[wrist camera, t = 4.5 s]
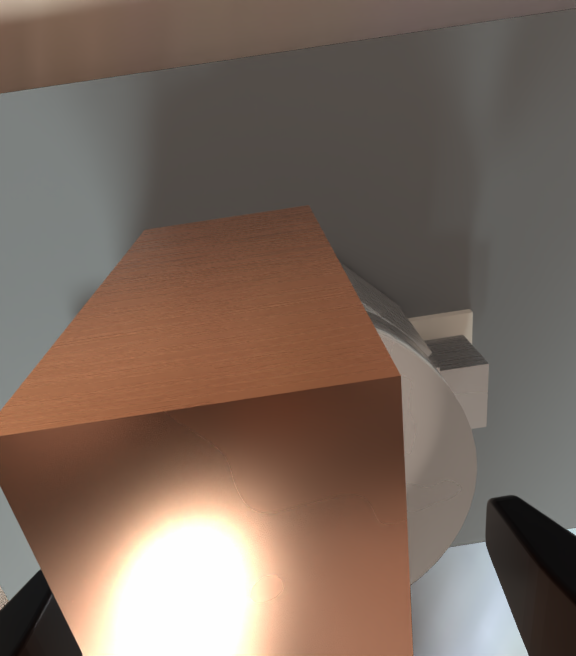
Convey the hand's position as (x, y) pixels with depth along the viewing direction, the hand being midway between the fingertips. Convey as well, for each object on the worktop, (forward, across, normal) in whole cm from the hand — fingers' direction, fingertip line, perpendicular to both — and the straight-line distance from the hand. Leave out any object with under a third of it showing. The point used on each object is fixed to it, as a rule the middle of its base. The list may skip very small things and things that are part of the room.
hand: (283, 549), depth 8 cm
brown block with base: (+5, 0, 0) cm, 5 cm away
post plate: (+7, 0, 0) cm, 7 cm away
